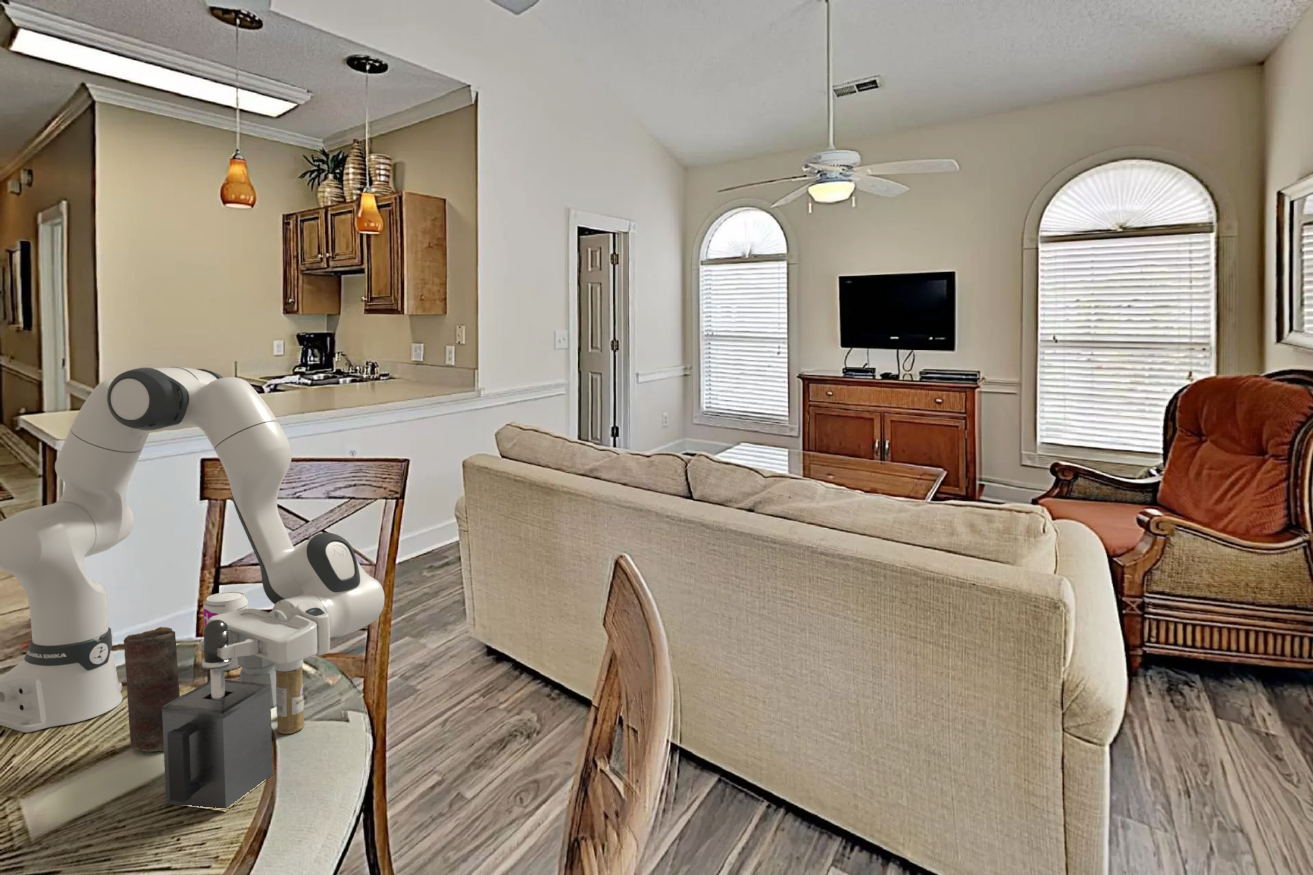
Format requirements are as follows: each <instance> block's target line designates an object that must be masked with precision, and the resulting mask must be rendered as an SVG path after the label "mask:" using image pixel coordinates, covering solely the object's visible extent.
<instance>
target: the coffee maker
mask: <svg viewBox="0 0 1313 875" xmlns="http://www.w3.org/2000/svg"><path fill="white" fill-rule="evenodd" d="M261 610H262V611H265V612H267V611H266V609H261ZM237 659H238V664H239V665H240V666H241V670H240V674H239V681H242V682H251V683H260V684H269V685H270V694H271V709H274V708H277V707H276V671H275V662H272V661H269V660H266V659H264V658H261V657H258V656H255V655H250V656H239V657H237Z"/></svg>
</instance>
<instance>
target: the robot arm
mask: <svg viewBox="0 0 1313 875" xmlns="http://www.w3.org/2000/svg"><path fill="white" fill-rule="evenodd" d="M193 427H197V428H199V429H200V430H202V432H203V433H204V434H205V435H206V437H207V439H208V441H209V442H210V444H211V446H212V448H213V449H214V451H215V453H216V455H217V456H218V458H219V461H220V464H221V465H222V467H223V469H224V472H225V475H226V477H227V481H228V483H229V488H230V494H231V500H232V502H233V505H234V509H235V510H236V513H237V514H236V515H237V517H238V518H239V521H240V523H241V525H242V527H243V530H244V532H245V535H246V536H247V539H248V541H249V543H250V546H251V548H252V550H253V553H254V554H255V555H254V556H255V557H256V560H257V562H258V564H259V567H260V573H261V574H260V575H261V582H262V588H263V592H264V593H265V595H266V597H267V598H268V599H269V601H270V602H271V603H272V604H274V606H273V607H272V609H271V611H270V612H268V611H266V612H265V611H262V610H263V609H257V608H248V609H242V610H237V611H232V612H228V613H224V614H219V615H215V616H213V617H211V618H209V619H208V621H207V624H208V623H209V622H210V621H213V620H222V621H224V622H225V623H226V624H227V626H228V636H229V643H228V644H225V645H222V646H219V647H218V648H217V657H219V658H221V659H223V660H226V659H229V658H232V657H239V656H250V655H255V656H258V657H261V658H264V659H266V660H269V661H272V662H275V663H278V664H287V663H293V662H296V661H300V660H303V661H304V660H306V659H308V658H312V657H314V656H324V655H326V654H328V653H329V652H330V650H331V648H330V647H331V638H339V637H343V636H345V635H348V634H351V633H354V632H357V631H359V630H361V629H364V628H366V627H367V626H369V625H371V624H372V623H375V621H376V620H377V619H378V618H379V617H380V616H381V614H382V612H383V609H384V606H385V597H386V596H385V592H384V589H383V587H382V584H381V583H380V582H379V581H378V580H377V579H376V578H374V577H372V576H370V575H369V574H368V573H367V572H366V571H365V570H364V568H363V567H362V566H361V564H360V562H358V560H357V557H356V553H355V550H354V548H353V547H352V544H350V542H349V541H348V540H347V539H345V538H344V536H343V537H342V536H341V535H339V534H336V533H333V532H321V533H317V534H315V535H314V536H313V537H311V538H309V539H308V540H306V541H304V542H303V543H301V544H300V545H298V546H297V547H296V548H295V547H294V544H293V542H292V540H291V537H290V535H289V533H288V530H287V529H286V526H285V525H284V522H283V520H282V516H280V512H279V508H278V497H279V496H278V495H279V492H280V488H281V486H282V483H283V481H284V479H285V477H286V475H287V473H288V472H289V470H290V466H291V464H292V458H293V453H292V448H291V445H290V442H289V438H288V436H287V435H286V432H285V431H284V429H283V428H282V426H281V424H280V423H279V421H278V419H277V417H276V416H275V414H274V413H273V411H272V410H271V409H270V407H269V406H268V404H267V403H266V402H265V400H264V399H263V397H261V396H260V394H259V393H258V392H257V391H256V389H255V388H254V387H253V386H252V384H250V383H249V382H248V381H246V380H245V379H244V378H240V377H234V376H233V377H232V376H227V377H223V376H222V375H221V374H219V373H217V372H214V371H212V370H208V369H204V368H191V367H184V366H183V367H182V366H168V367H154V368H152V367H137V368H133V369H130V370H129V369H128V370H126V371H124V372H122V373H120V374H118V375H117V376H116V377H114V378H111V379H107V380H103V381H101V382H100V383H98V384H97V385H96V386H95V388H94V389H93V390H92V391H91V392H90V394H89V395H88V397H87V398H86V399H85V401H84V403H83V404H82V406H81V407H80V409H79V411H78V412H77V415H76V416H75V419H74V420H73V423H72V424H71V427H70V428H69V431H68V434H67V436H66V438H65V440H64V443H63V445H62V447H61V449H60V452H59V454H58V456H57V459H56V460H55V462H54V470H55V473H56V475H57V476H58V477H59V478H60V480H61V481H62V482H64V488H63V492H62V495H61V497H60V498H59V499H58V500H57V501H56V502H53V503H50V504H47V505H42V506H37V507H33V508H29V509H25V510H21V511H19V512H17V513H14V514H12V515H10V516H9V517H6V518H4V519H2V520H1V521H0V569H1V570H3V571H4V572H7V573H8V574H11V575H12V576H13V577H15V579H16V580H17V581H18V582H19V583H20V585H21V587H22V589H23V590H24V592H25V595H26V597H27V602H28V606H29V616H30V626H31V639H30V640H27V641H24V642H21V643H19V646H22V647H20V648H19V650H25V649H26V652H25V656H24V659H23V660H22V661H20V662H19V663H18V664H17V665H15V666H14V667H12V668H11V669H10V670H9V671H8V672H6V673H5V674H3V675H2V676H0V726H3V727H6V728H9V729H12V730H15V731H17V732H22V733H31V732H36V731H40V730H43V729H47V728H51V727H58V726H65V725H70V724H75V723H79V722H84V721H86V720H90V719H92V718H95V717H96V718H97V717H98V716H101V715H103V714H105V713H108V712H109V711H111V710H113V709H115V708H116V707H118V706H119V705H120V704H121V702H122V701H123V699H124V698H123V695H122V693H121V691H122V690H123V685H122V682H121V681H119V680H118V678H119V677H118V673H117V667H116V661H115V655H114V652H113V651H112V648H113V634H112V628H111V627H110V626H109V614H108V613H109V611H108V593H107V590H106V589H105V587H104V586H103V585H102V584H101V583H99V582H96V581H94V580H91V578H90V577H89V574H88V572H87V571H86V569H85V564H84V560H85V558H88V557H90V556H93V555H96V554H99V553H102V552H104V551H108V550H109V549H111V548H113V547H115V546H116V545H118V544H119V543H121V542H122V541H124V540H125V539H126V538H128V537H129V535H130V534H131V532H132V530H133V528H134V523H135V519H134V514H133V511H132V510H131V507H130V506H129V504H127V503H126V502H127V500H126V499H127V497H126V496H127V489H128V485H129V481H130V479H131V477H132V474H133V472H134V469H135V467H136V464H137V463H138V460H139V458H140V455H141V453H142V451H143V449H144V446H145V444H146V443H147V439H148V437H149V435H150V433H151V431H157V430H159V431H171V430H172V431H177V430H183V429H188V428H193ZM23 645H24V646H23ZM198 645H199V646H198V647H199V651H200V652H203V653H204V638H203V639H201V640H199V644H198Z"/></svg>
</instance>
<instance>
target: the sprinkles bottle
mask: <svg viewBox="0 0 1313 875" xmlns="http://www.w3.org/2000/svg"><path fill="white" fill-rule="evenodd" d="M303 666H304V659H303V660H300V661H296V662H293V663H287V664H278V663H275V671H276V707H275V708H276V717H277V718H276V719H277V720H276V721H277V726H276V731H277V733H279V734H282V735H289V734H294V733H297V732H299V731H302V729H303V728H304V727H305V725H306V724H305V721H304V714H305V713H304V709H305V708H304V707H305V704H304V685H303V684H304V683H303V682H304V681H303Z"/></svg>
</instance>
